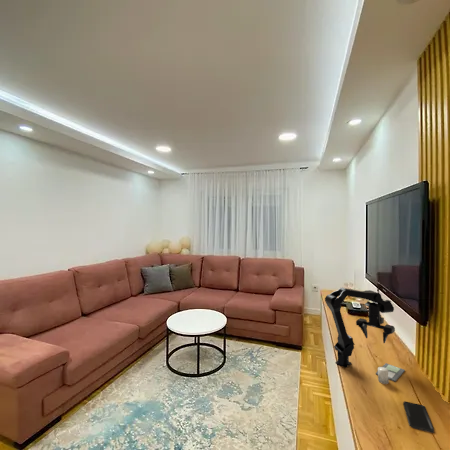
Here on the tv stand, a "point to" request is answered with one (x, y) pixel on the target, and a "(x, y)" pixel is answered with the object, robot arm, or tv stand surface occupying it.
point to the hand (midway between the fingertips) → (375, 340)
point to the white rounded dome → (383, 375)
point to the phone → (418, 417)
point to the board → (393, 372)
